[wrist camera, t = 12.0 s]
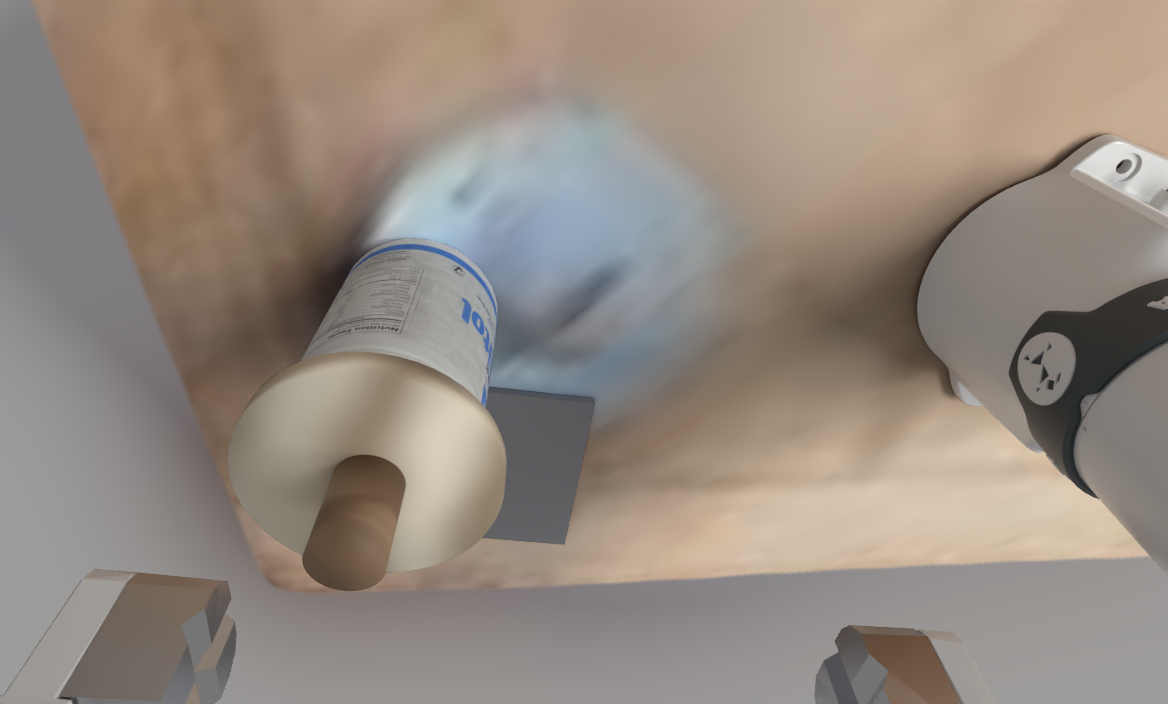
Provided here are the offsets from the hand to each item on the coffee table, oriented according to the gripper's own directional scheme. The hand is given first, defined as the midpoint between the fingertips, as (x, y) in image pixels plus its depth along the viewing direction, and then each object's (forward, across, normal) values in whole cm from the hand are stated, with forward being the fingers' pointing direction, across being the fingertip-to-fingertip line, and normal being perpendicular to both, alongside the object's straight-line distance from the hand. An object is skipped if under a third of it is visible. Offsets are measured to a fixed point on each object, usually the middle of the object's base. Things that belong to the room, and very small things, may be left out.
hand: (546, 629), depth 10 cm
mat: (+34, +1, +28) cm, 44 cm away
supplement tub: (+34, +6, +15) cm, 38 cm away
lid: (+20, +6, +15) cm, 25 cm away
